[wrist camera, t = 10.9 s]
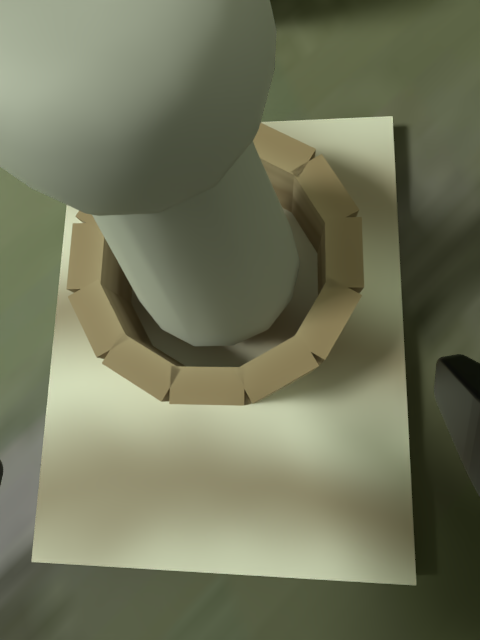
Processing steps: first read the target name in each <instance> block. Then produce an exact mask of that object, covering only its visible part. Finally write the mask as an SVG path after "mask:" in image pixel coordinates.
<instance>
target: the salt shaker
mask: <svg viewBox="0 0 480 640" xmlns="http://www.w3.org/2000/svg"><path fill="white" fill-rule="evenodd" d="M275 51H276V26H275V21H274V17H273V12H272V7H271V3H270V0H0V167H1V168H3V169H4V170H6V171H7V172H9V173H10V174H12V175H13V176H14V177H16V178H17V179H19V180H20V181H22V182H23V183H25V184H26V185H27V186H29V187H30V188H32V189H35V190H37V191H39V192H41V193H43V194H45V195H47V196H49V197H52V198H54V199H56V200H58V201H60V202H62V203H64V204H66V205H69V206H71V207H73V208H75V209H77V210H79V211H81V212H83V213H86V214H91V215H92V216H93V217H94V219H95V221H96V223H97V225H98V227H99V228H100V230H101V232H102V234H103V236H104V237H105V239H106V241H107V243H108V245H109V246H110V248H111V250H112V252H113V254H114V256H115V257H116V259H117V261H118V263H119V265H120V266H121V268H122V270H123V272H124V274H125V276H126V277H127V279H128V281H129V283H130V285H131V286H132V288H133V290H134V292H135V294H136V295H137V297H138V299H139V301H140V302H141V304H142V305H143V306H144V307H145V309H146V310H147V311H148V312H149V314H150V315H151V316H152V317H153V319H154V320H155V321H156V323H157V324H158V325H159V326H160V328H161V329H162V330H164V331H166V332H168V333H170V334H172V335H174V336H176V337H177V338H179V339H181V340H183V341H185V342H187V343H189V344H191V345H193V346H233V345H236V344H238V343H240V342H242V341H244V340H246V339H249V338H251V337H253V336H255V335H257V334H259V333H262V332H264V331H266V330H268V329H269V328H270V327H271V325H272V324H273V323H274V321H275V320H276V319H277V318H278V316H279V315H280V314H281V313H282V311H283V310H284V309H285V307H286V306H287V305H288V304H289V302H290V301H291V300H292V298H293V293H294V289H295V285H296V280H297V276H298V272H299V267H300V259H299V255H298V251H297V248H296V244H295V240H294V236H293V232H292V229H291V226H290V224H289V222H288V219H287V217H286V215H285V213H284V211H283V208H282V206H281V204H280V202H279V199H278V197H277V195H276V193H275V190H274V188H273V186H272V184H271V182H270V179H269V177H268V175H267V173H266V170H265V168H264V166H263V164H262V162H261V159H260V157H259V155H258V153H257V150H256V148H255V145H254V142H253V140H254V138H255V136H256V134H257V132H258V129H259V126H260V122H261V119H262V115H263V111H264V107H265V104H266V100H267V96H268V92H269V88H270V85H271V81H272V77H273V73H274V70H275Z"/></svg>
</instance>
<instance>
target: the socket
mask: <svg viewBox="0 0 480 640" xmlns="http://www.w3.org/2000/svg"><path fill="white" fill-rule="evenodd" d="M253 142H254V145H255V148H256V150H257V153H258V155H259V157H260V159H261V162H262V164H263V166H264V168H265V170H266V173H267V175H268V177H269V179H270V182H271V184H272V186H273V188H274V190H275V193H276V195H277V197H278V199H279V202H280V204H281V206H282V208H283V211H284V213H285V215H286V217H287V219H288V222H289V224H290V226H291V229H292V232H293V236H294V240H295V244H296V248H297V251H298V255H299V259H300V267H299V272H298V276H297V280H296V285H295V289H294V293H293V298H292V300H291V301H290V302H289V304H288V305H287V306H286V307H285V309H284V310H283V311H282V313H281V314H280V315H279V316H278V318H277V319H276V320H275V321H274V323H273V324H272V325H271V327H270V328H269V329H268V330H266V331H264V332H262V333H259V334H257V335H255V336H253V337H251V338H249V339H246V340H244V341H242V342H240V343H238V344H236V345H233V346H193V345H191V344H189V343H187V342H185V341H183V340H181V339H179V338H177V337H176V336H174V335H172V334H170V333H168V332H166V331H164V330H162V329H161V328H160V326H159V325H158V324H157V323H156V321H155V320H154V319H153V317H152V316H151V315H150V314H149V312H148V311H147V310H146V309H145V307H144V306H143V305H142V304H141V302H140V301H139V299H138V297H137V295H136V294H135V292H134V290H133V288H132V286H131V285H130V283H129V281H128V279H127V277H126V276H125V274H124V272H123V270H122V268H121V266H120V265H119V263H118V261H117V259H116V257H115V256H114V254H113V252H112V250H111V248H110V246H109V245H108V243H107V241H106V239H105V237H104V236H103V234H102V232H101V230H100V228H99V227H98V225H97V223H96V221H95V219H94V217H93V216H92V215H91V214H86V213H83V212H81V211H79V210H77V209H75V208H73V207H71V206H69V205H67V209H66V219H65V229H64V239H63V249H62V259H61V269H60V279H59V289H58V299H57V309H56V319H55V329H54V340H53V350H52V360H51V370H50V380H49V390H48V400H47V410H46V420H45V430H44V440H43V450H42V460H41V471H40V481H39V491H38V501H37V511H36V521H35V531H34V541H33V551H32V561H31V562H42V563H58V564H75V565H91V566H107V567H124V568H140V569H156V570H173V571H189V572H205V573H222V574H238V575H254V576H271V577H287V578H303V579H320V580H336V581H352V582H369V583H385V584H401V585H416V567H415V547H414V527H413V508H412V488H411V469H410V449H409V429H408V410H407V390H406V371H405V351H404V332H403V312H402V292H401V273H400V253H399V234H398V214H397V195H396V175H395V155H394V136H393V116H388V117H365V118H343V119H321V120H298V121H276V122H260V126H259V129H258V132H257V134H256V136H255V138H254V140H253Z"/></svg>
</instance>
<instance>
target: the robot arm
mask: <svg viewBox="0 0 480 640" xmlns="http://www.w3.org/2000/svg"><path fill="white" fill-rule="evenodd" d="M434 395H435V399H436V402H437V405H438V407H439V409H440V412H441V414H442V416H443V419H444V421H445V423H446V426H447V428H448V430H449V433H450V435H451V437H452V440H453V442H454V445H455V447H456V449H457V452H458V454H459V456H460V459H461V461H462V463H463V466H464V468H465V470H466V472H467V474H468V476H469V478H470V480H471V482H472V484H473V486H474V488H475V489H476V491H477V493H478V495H479V497H480V363H478V362H476V361H474V360H472V359H470V358H468V357H466V356H464V355H461V354H457V355H451V356H445V357H441V358H439V359H438V361H437V364H436V374H435V385H434ZM2 476H3V465H2V462H1V460H0V485H1V480H2Z"/></svg>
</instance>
